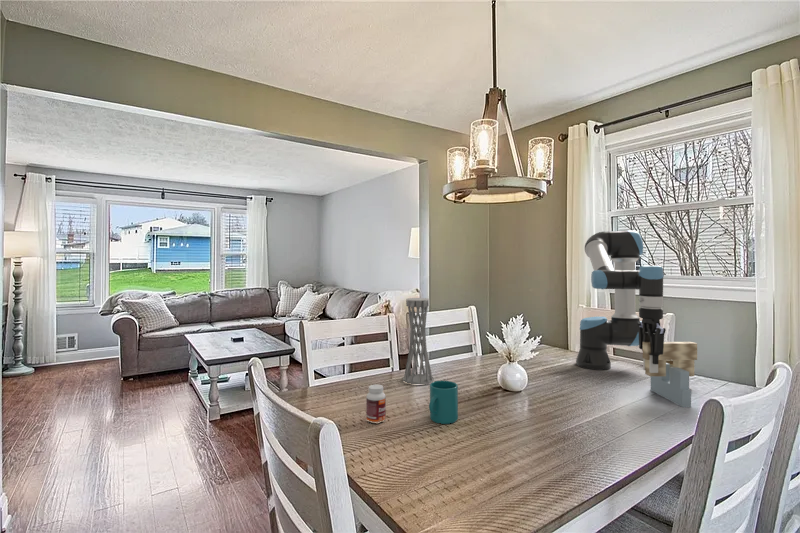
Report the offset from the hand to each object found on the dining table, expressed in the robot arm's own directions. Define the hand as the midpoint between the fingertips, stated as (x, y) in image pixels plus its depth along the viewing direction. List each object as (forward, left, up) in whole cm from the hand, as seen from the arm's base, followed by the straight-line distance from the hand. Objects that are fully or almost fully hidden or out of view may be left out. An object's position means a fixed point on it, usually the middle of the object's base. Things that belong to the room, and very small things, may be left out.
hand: (650, 371), depth 148 cm
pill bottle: (+20, -100, -10) cm, 102 cm away
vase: (-22, -85, -10) cm, 88 cm away
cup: (+20, -79, -10) cm, 82 cm away
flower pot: (-17, +21, -10) cm, 29 cm away
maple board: (0, +7, -2) cm, 7 cm away
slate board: (0, +7, -10) cm, 12 cm away
